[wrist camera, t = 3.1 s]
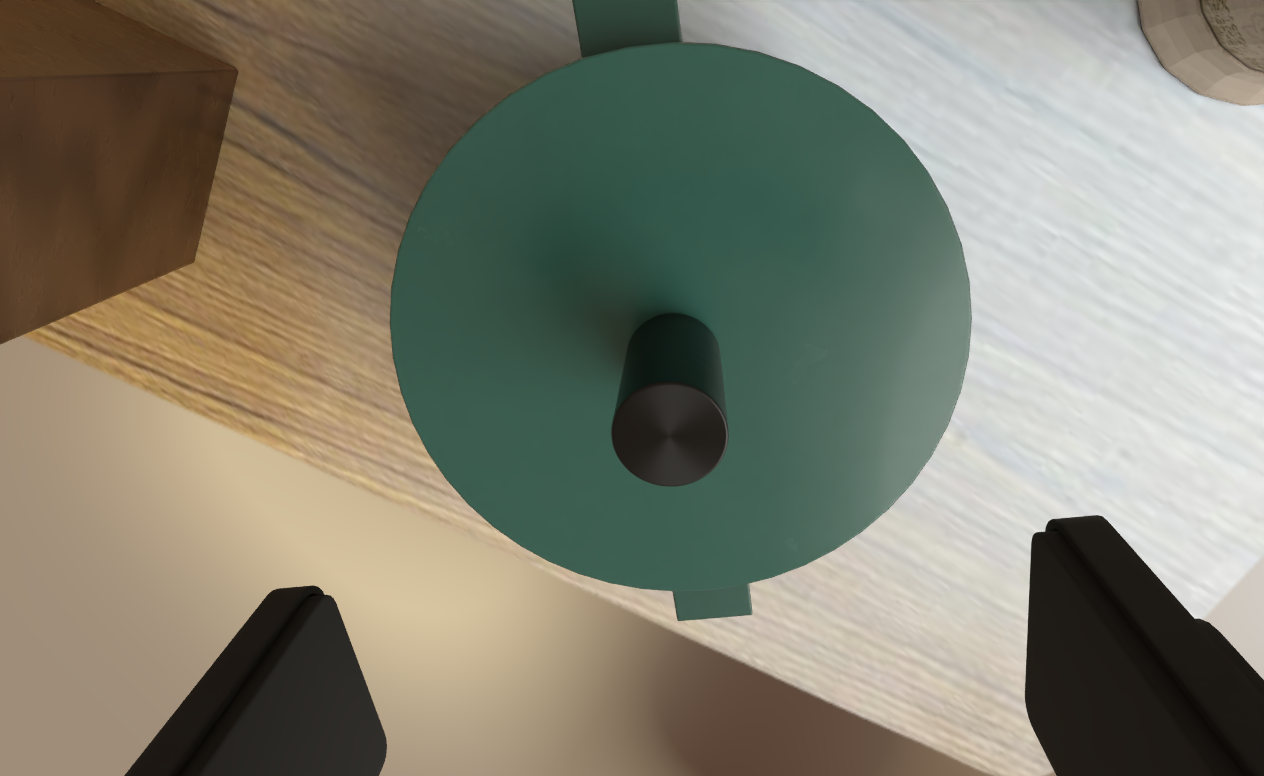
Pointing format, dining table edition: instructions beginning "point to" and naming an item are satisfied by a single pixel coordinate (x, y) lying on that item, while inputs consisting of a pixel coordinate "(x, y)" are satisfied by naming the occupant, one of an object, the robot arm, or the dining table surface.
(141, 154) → the block
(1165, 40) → the mug
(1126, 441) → the dining table surface
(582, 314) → the lid
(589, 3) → the pot
